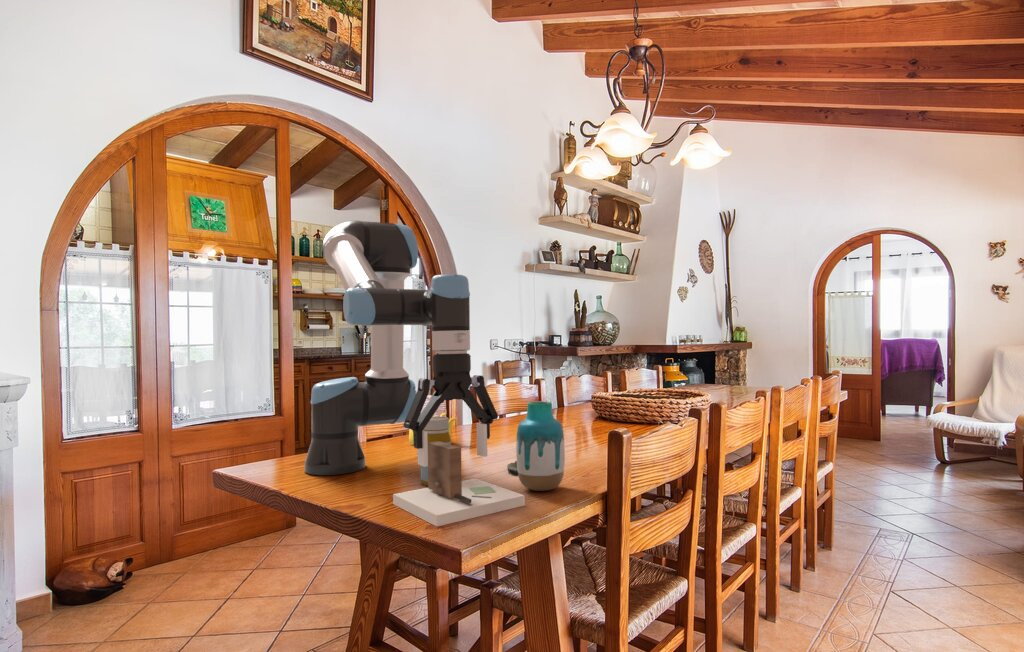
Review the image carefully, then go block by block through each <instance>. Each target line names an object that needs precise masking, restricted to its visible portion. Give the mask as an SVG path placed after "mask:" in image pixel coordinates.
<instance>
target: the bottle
mask: <svg viewBox="0 0 1024 652" xmlns="http://www.w3.org/2000/svg"><path fill="white" fill-rule="evenodd" d="M449 420H450V418H449V417H447V416H444V417H440V416H433V417H432V418H431V419H430V421H429V422H428V424H427V425H426V427H425V428H424V430H423V431H427V440H428V443H429V442H436V441H440V442H444V443H447V444H451V445H452V440H451V439H452V436H451V437H450V435H449V432H448V431H449ZM420 483H422V485H423V486H426V487H428V466H426V467H424V466H421V465H420Z"/></svg>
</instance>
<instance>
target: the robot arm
mask: <svg viewBox="0 0 1024 652" xmlns="http://www.w3.org/2000/svg"><path fill="white" fill-rule="evenodd" d="M322 254H323V258H324V259H325V261H326V263H327V264H328V266H330V267H331V268H333V269H334V271H335V272H336V274H337V277H338V278H339V280H340V282H341V284H342V286H343V288H344V290H345V291H344V295H343V299H342V310H343V317H344V320H345V322H346V323H347V324H349V325H353V326H354V325H355V326H363V327H369V326H371V329H370V330H371V331H370V332H371V334H370V335H371V337H370V339H371V340H370V341H371V342H370V350H371V351H370V369H369V370H368V371H367V372H366V373H365V374H364V381H362V382H361V381H360V382H359V379H358V378H357V377H355V376H349V377H341V378H334V379H329V380H325V381H320V382H318V383H315V384H314V385H313V387H312V388H311V393H310V394H311V395H310V398H311V399H310V405H311V413H310V414H311V415H310V416H311V420H310V421H311V441H310V444H309V447H308V451H307V454H306V457H305V460H304V472H305V473H306V474H307V475H314V476H335V475H336V476H337V475H344V474H351V473H355V472H358V471H359V472H360V471H361V470H363V469H365V467H366V457H365V454H364V450H363V448H362V445H361V443H360V440H359V427H365V426H375V425H377V426H378V425H387V424H389V425H394V424H398V423H403V428H404V429H408V430H409V429H411V430H412V431H413V442H414V446H413V447H414V449H417V465H418V466H420V467H421V466H424V467H426V466H428V440H427V431H423V430H424V428H425V427H426V425H427V424H428V422H429V421H430V419H431V418H432V416H433V417H434V414H435V413H436V412H437V410H438V409H439V407H440V406H441V404H443V403H444V402H445V401H453V400H459V401H460V400H462V401H464V403H465V405H467V407H468V408H469V410H471V412H472V413H473V414H474V416H475V418H477V419H478V420H479V422H476V455H477V456H481V457H483V458H486V457H488V440H489V439H490V437H491V428H490V427H491V424H493V422H494V420H497V419H498V417H499V414H498V412H497V410H496V408H495V406H494V403H493V401H492V400H491V397H490V395H489V393H488V391H487V388H486V385H485V377H484V375H479V374H477V375H475V374H474V375H473V376H471V374H470V373H471V370H472V367H471V366H472V365H471V364H472V361H471V355H470V353H468V352H469V351H470V350H471V331H470V330H471V329H470V328H471V326H470V325H471V323H470V321H471V320H470V318H471V317H470V315H471V314H470V307H471V306H470V303H471V302H470V296H471V292H470V284H469V279H468V277H467V276H466V275H463V274H453V273H452V274H451V273H449V274H448V273H447V274H446V273H445V274H436V275H434V276H432V278H431V284H430V287H429V289H420V288H419V289H417V288H416V289H415V288H413V289H411V288H409V289H408V288H405V280H406V279H407V278H408V277H410V275H411V269H413V268H415V267H416V266H417V264H418V258H419V246H418V242H417V238H416V235H415V232H414V231H413V228H411V227H410V226H408V225H406V224H401V223H395V222H382V221H381V222H378V221H363V220H348V221H344V222H342V223H340V224H337V225H335V226H334V227H332V228H331V229H330V230H329V231H328V233H326V235H325V237H324V239H323V242H322ZM404 326H424V327H431V338H432V339H431V340H432V341H431V345H432V346H431V348H432V349H431V350H432V351H433V352H435V353H434V354H433V355H432V372H433V377H432V379H429V378H419V379H418V381H417V382H418V383H417V390H416V383H415V382H414V380H412V379H410V377H409V375H410V374H409V373H408V371H406V370H405V368H404V337H405V336H404V333H405V331H404V328H405V327H404ZM471 386H472V387H473V389H474V392H475V394H476V396H477V398H478V400H479V401H478V400H477V399H476V398H475V396H474V394H473V393H472V391H471V390H470V389H469V388H470V387H471ZM432 387H433V390H434V392H433V393H432V394H431V396H430V400H429V401H428V402H427V404H426V401H427V398H428V397H429V392H430V391H431V390H432ZM425 404H426V405H425Z"/></svg>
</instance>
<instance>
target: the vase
mask: <svg viewBox="0 0 1024 652" xmlns="http://www.w3.org/2000/svg"><path fill="white" fill-rule="evenodd" d="M526 407H527V408H526V409H527V410H526V417H525V418H524V419H523V420H521V421H520V422H519V423H518V426H517V430H516V445H515V450H516V451H515V452H516V454H515V455H516V457H515V458H516V461H517V470H518V476H517V477H518V479H519V482H520V483H521V484H522V486H523V487H525V488H526V489H528V490H530V491H534V492H535V491H536V492H546V491H551V490H554V489H557V487H558V486H560V485H561V483H562V481H563V479H564V475H565V473H564V472H565V463H566V460H565V458H566V457H565V454H566V453H565V451H566V450H565V436H564V435H565V434H564V428H563V425H562V424H561V423H562V422H560V421H559V420H558V419H556V417H554V415H553V403H552V402H551V401H548V400H547V401H546V400H545V401H544V400H543V401H542V400H537V401H536V400H535V401H529V402H527V404H526Z"/></svg>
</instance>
